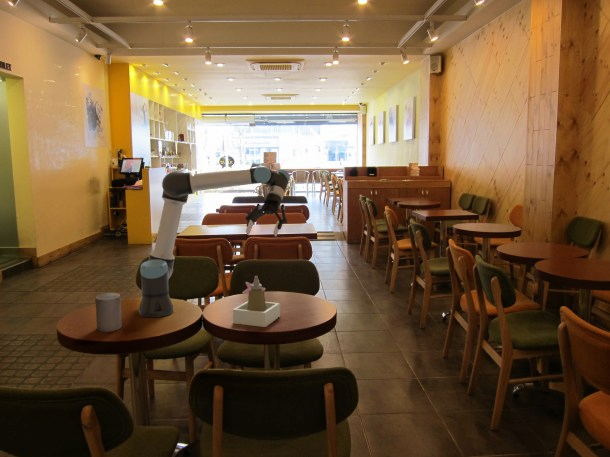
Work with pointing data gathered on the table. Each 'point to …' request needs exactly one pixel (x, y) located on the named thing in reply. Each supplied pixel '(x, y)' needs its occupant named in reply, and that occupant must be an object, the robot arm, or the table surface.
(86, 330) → the table surface
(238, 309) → the bin
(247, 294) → the lily
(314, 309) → the table surface
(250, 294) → the squeeze bottle
